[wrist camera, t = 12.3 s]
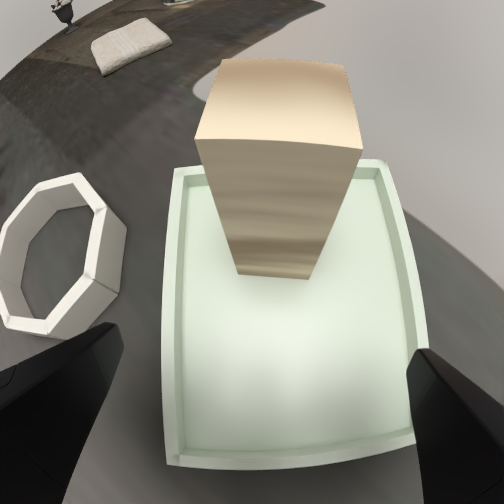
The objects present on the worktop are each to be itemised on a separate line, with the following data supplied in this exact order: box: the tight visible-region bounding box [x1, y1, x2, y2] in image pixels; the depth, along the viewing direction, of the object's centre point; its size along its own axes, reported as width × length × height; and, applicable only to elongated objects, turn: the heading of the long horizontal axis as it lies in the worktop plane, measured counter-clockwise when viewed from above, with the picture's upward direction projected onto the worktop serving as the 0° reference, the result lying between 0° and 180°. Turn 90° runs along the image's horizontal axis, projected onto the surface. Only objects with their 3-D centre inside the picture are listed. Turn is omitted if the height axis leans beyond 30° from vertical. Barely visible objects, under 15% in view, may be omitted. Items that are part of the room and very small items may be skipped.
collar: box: [0, 173, 127, 340], centre depth 19 cm, size 13×13×4 cm
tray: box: [161, 159, 429, 470], centre depth 17 cm, size 20×16×2 cm
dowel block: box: [195, 59, 363, 280], centre depth 13 cm, size 4×4×12 cm
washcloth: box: [91, 18, 172, 76], centre depth 34 cm, size 12×18×3 cm, turn 32°
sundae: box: [51, 0, 80, 35], centre depth 41 cm, size 7×7×15 cm
